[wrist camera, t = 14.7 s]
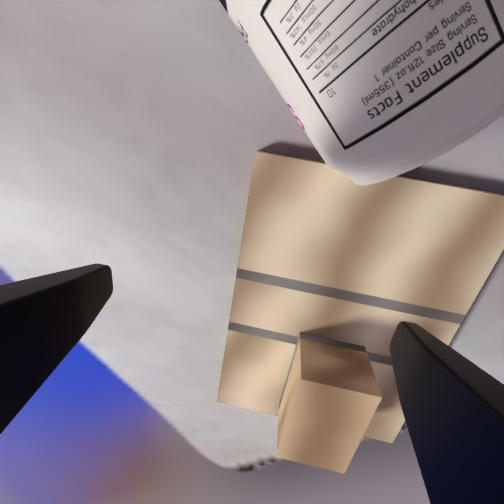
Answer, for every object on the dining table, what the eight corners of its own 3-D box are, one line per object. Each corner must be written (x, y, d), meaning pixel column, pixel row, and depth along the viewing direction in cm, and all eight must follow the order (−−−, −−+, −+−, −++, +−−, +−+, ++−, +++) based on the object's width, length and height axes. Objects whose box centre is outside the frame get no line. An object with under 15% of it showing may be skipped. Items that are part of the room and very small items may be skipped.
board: (515, 196, 17) (531, 200, 16) (387, 429, 26) (392, 443, 25) (257, 150, 18) (255, 151, 17) (219, 390, 27) (216, 401, 26)
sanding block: (364, 346, 21) (382, 397, 17) (335, 416, 24) (344, 473, 20) (299, 332, 21) (301, 379, 17) (279, 403, 25) (276, 457, 21)
